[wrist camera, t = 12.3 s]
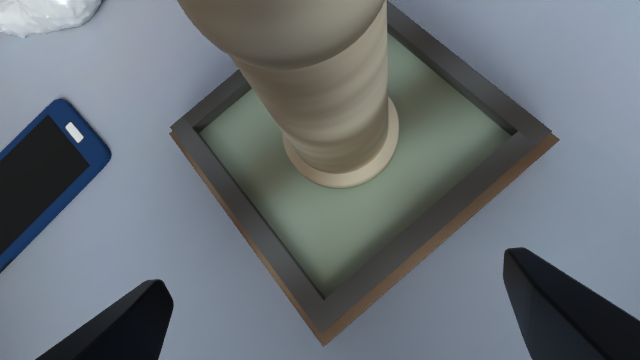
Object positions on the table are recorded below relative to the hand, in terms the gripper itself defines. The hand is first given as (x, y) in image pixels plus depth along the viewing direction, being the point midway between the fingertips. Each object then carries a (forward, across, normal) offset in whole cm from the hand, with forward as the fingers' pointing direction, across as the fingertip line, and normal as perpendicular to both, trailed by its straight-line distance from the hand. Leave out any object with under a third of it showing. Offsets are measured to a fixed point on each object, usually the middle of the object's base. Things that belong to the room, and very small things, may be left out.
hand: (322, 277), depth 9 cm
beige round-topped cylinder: (+11, 0, 0) cm, 11 cm away
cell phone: (+13, +23, +2) cm, 26 cm away
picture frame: (+12, 0, +2) cm, 13 cm away
